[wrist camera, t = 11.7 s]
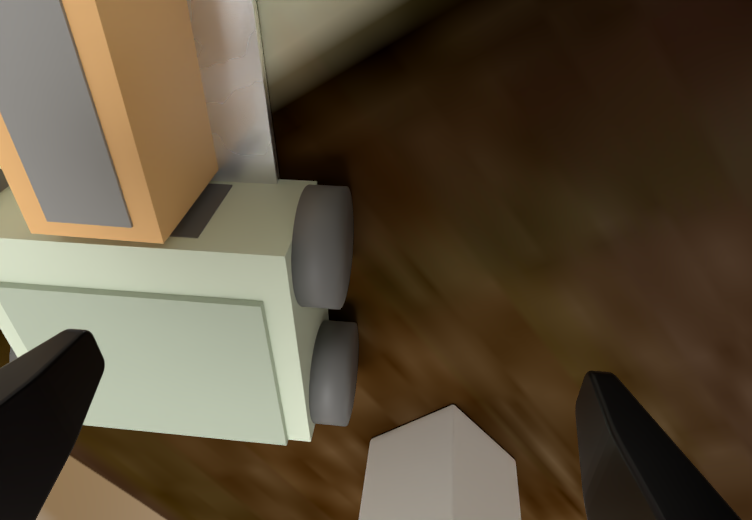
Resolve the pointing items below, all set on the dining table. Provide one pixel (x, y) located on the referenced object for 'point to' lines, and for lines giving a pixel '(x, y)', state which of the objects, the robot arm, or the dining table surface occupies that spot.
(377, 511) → the milk
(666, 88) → the dining table surface
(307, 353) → the mower deck
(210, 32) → the mounting plate
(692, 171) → the dining table surface
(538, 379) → the dining table surface
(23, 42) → the block
